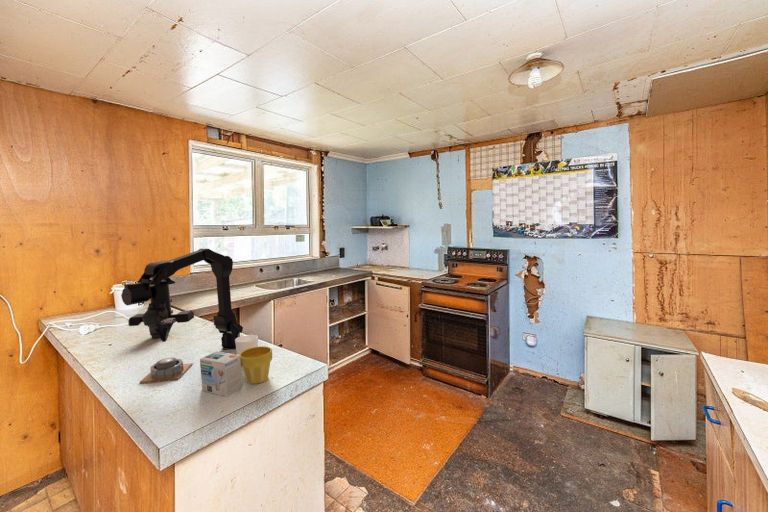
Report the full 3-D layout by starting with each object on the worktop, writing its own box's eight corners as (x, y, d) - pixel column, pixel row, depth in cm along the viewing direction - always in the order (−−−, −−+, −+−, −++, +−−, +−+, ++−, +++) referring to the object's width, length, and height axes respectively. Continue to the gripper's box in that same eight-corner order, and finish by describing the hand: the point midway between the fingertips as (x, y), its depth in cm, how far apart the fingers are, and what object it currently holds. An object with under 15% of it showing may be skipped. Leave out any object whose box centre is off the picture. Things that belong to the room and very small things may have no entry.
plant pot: (247, 373, 116) (245, 346, 115) (276, 371, 116) (275, 345, 115) (236, 388, 105) (234, 359, 104) (269, 386, 106) (267, 357, 105)
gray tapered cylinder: (180, 367, 120) (178, 356, 120) (172, 374, 114) (171, 363, 114) (162, 369, 119) (160, 358, 119) (153, 376, 113) (152, 365, 113)
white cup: (237, 370, 118) (235, 343, 117) (236, 362, 125) (234, 336, 124) (260, 365, 122) (259, 339, 121) (258, 357, 129) (256, 333, 128)
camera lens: (160, 340, 151) (156, 308, 150) (145, 339, 153) (142, 308, 151) (174, 334, 159) (171, 304, 158) (160, 333, 161) (157, 303, 159)
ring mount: (192, 364, 124) (191, 356, 123) (178, 379, 112) (177, 370, 112) (157, 367, 122) (156, 359, 121) (139, 383, 110) (138, 373, 110)
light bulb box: (201, 391, 104) (198, 358, 103) (218, 381, 110) (216, 350, 109) (226, 396, 100) (224, 363, 99) (243, 386, 106) (241, 354, 105)
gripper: (115, 306, 104) (121, 353, 106) (179, 302, 108) (183, 347, 109) (135, 298, 115) (140, 340, 117) (192, 294, 119) (196, 336, 120)
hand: (164, 341), depth 116 cm, fingers closed
